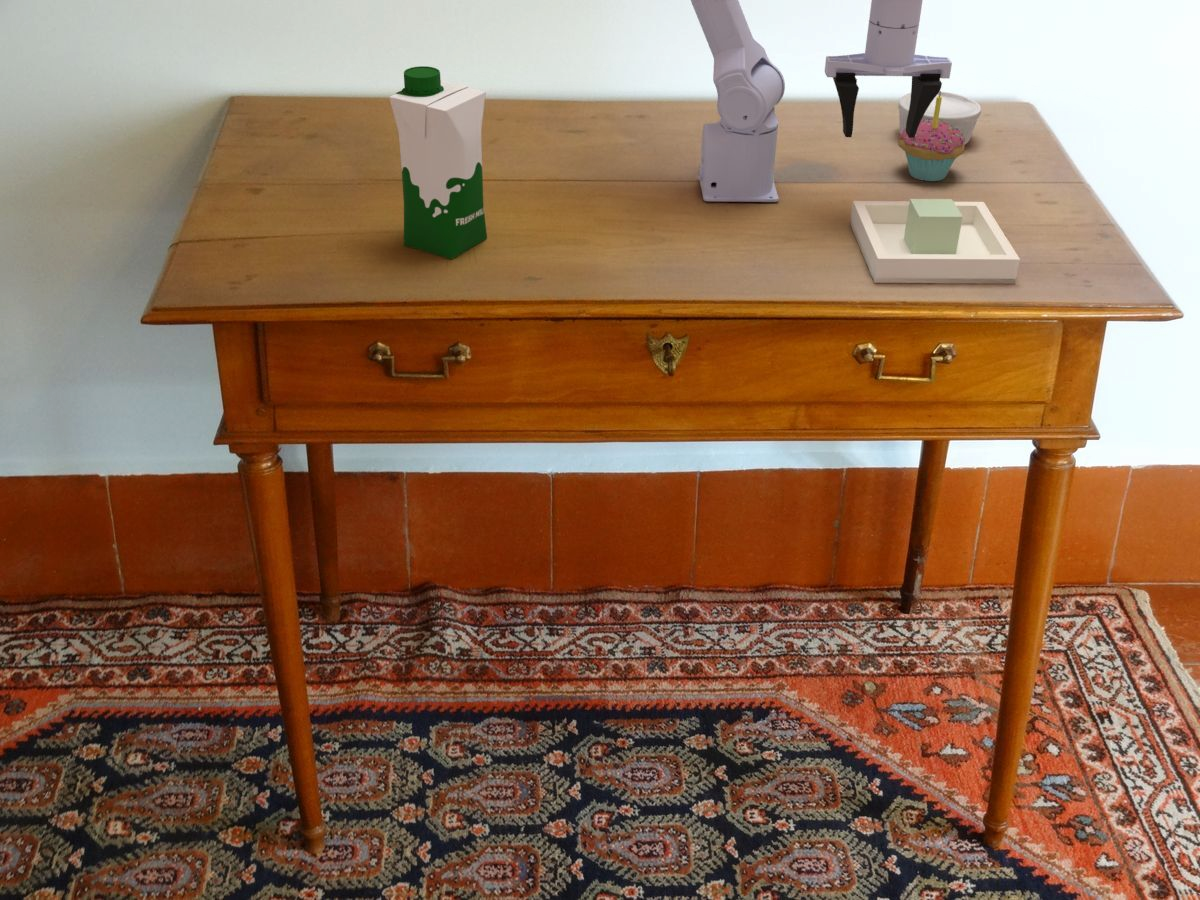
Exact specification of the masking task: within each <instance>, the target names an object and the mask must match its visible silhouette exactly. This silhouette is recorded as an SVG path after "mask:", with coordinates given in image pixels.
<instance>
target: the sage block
mask: <svg viewBox="0 0 1200 900" xmlns="http://www.w3.org/2000/svg"><path fill="white" fill-rule="evenodd" d="M909 201H910V202H909V208H908V215H907V221H906V228H905V234H904V239H905V241H906V243H907V245H908V247H909V249H910V252H911V254H956V251H957V246H958V240H959V235H960V229H961V223H962V218H963V216H962V215H961V213H960V211H959V210H958V208H957V206H956V205H955V203H954V202H955V201H954V200H953V198H952V199H951V198H909Z"/></svg>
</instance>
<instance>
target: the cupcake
mask: <svg viewBox="0 0 1200 900" xmlns="http://www.w3.org/2000/svg"><path fill="white" fill-rule="evenodd" d="M941 92H942V91H941V90H940V92H939V96H937V99H936V105H935V111H934V117H933V119H932V120H930V119H928V120H921V122H920V124H919V126H918V129H917V132H916V135H915V138H909V137H908V135H907V133H906V128H905V129H904V130H903V131H902V133H900V132H899V133H900V134H899V138H898V142H897V144H898V147H899V148H901V150H902V151H904V153H905V156H906V160H907V166H908V172H909V175H910V176H911V177H912V176H913V178H914V179H916V178H917V180H919V181H923V180H925V181H927V182H938V181H942V180H944V179H945V178H946V177H947V175H948V173H949V171H950V169H951V167H952V165H953V163H954V162H955V161H956V159H957V158H958V157H959V156H961V155H963V154H964V152H965V145H964V142H965V138H964V137H963V134H961V133H960V131H958V129H956V128H955V127H953V126H952V125H951V126H950V125H948V123H946V122H943V121H939V120H938V118H939V112H940V106H941V100H942V96H941ZM925 181H924V182H925Z"/></svg>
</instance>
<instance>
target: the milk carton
mask: <svg viewBox="0 0 1200 900" xmlns="http://www.w3.org/2000/svg"><path fill="white" fill-rule="evenodd" d="M403 82H404V83H403V84H404V87H403V88H402V89H401V90H400V91H396V93H394V94H392V95H390V96H389V102H390V104H391V105H390V106H391V108H392V112H393V116H394V120H395V124H396V127H397V131H398V132H397V133H398V141H399V151H400V153H399V154H400V165H401V166H400V167H401V182H402V196H403V245H404V246H406V247H408V248H412V249H416V250H419V251H423V252H426V253H430V254H433V255H436V256H440V257H442V258H446V259H449V260H453V259H455V258H457V257H458V256H460V255H461V254H463V253H465V252H466V251H469V250H470V249H472V248H473V247H475V246H477V245H479V244H480V243H481V242H484V241H485V240H486V239H488V235H487V234H488V233H487V224H486V217H485V208H484V207H485V206H484V205H485V204H484V184H483V183H484V182H483V181H484V180H483V155H482V151H483V150H482V148H483V147H482V129H483V128H482V126H483V119H484V118H483V117H484V110H485V102H486V101H485V100H486V94H487V92H486V91H484V90H481V89H475V88H471V87H469V86H468V85H465V84H458V83H453V82H449V81H445V80H441V71H440V70H439V68H436V67H433V66H421V65H420V66H413V67H412V66H411V67H409V68H407V69H405V70H404V72H403Z"/></svg>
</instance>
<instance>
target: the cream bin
mask: <svg viewBox="0 0 1200 900" xmlns="http://www.w3.org/2000/svg"><path fill="white" fill-rule="evenodd" d="M909 202H910V200H908V201H904V200H897V201H896V200H895V201H894V200H891V201H890V200H887V201H886V200H853V201H852V205H851V214H850V223H849V224H850V225H849V226H850V227H851V230H852V233H853V234H854V237H855V239H856V241H857V244H858V247H859V248H860V252H861V253H862V257H863V258H864V260H865V263H866V265H867V268H868V271H869V273H870V275H871V278H872V280H873V282H874V283H875V284H1005V285H1006V284H1010V285H1012V284H1013V285H1014V284H1016V281H1017V276H1018V271H1019V266H1020V262H1021V259H1020V257H1019V255H1018V254H1017V252H1016V250H1015V249H1014V247H1013V246H1012V244H1011V242H1010V240H1009V239H1008V238H1007V237H1006V235H1005V233H1004V231H1003V230H1002V229H1001V227H1000V226H999V225H1000V224H998V222H997V221H996V219H995V217H994V216H993V214H992V213H991V210H989V208H988V206H987V205H986V203H985V201H954V203H955V205H956V206H957V208H958V210H959V211H960V213H961V215H962V216H963V218H962V223H961V229H960V235H959V240H958V246H957V251H956V254H911V252H910V249H909V247H908V245H907V243H906V241H905V239H904V234H905V228H906V221H907V215H908V208H909Z"/></svg>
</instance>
